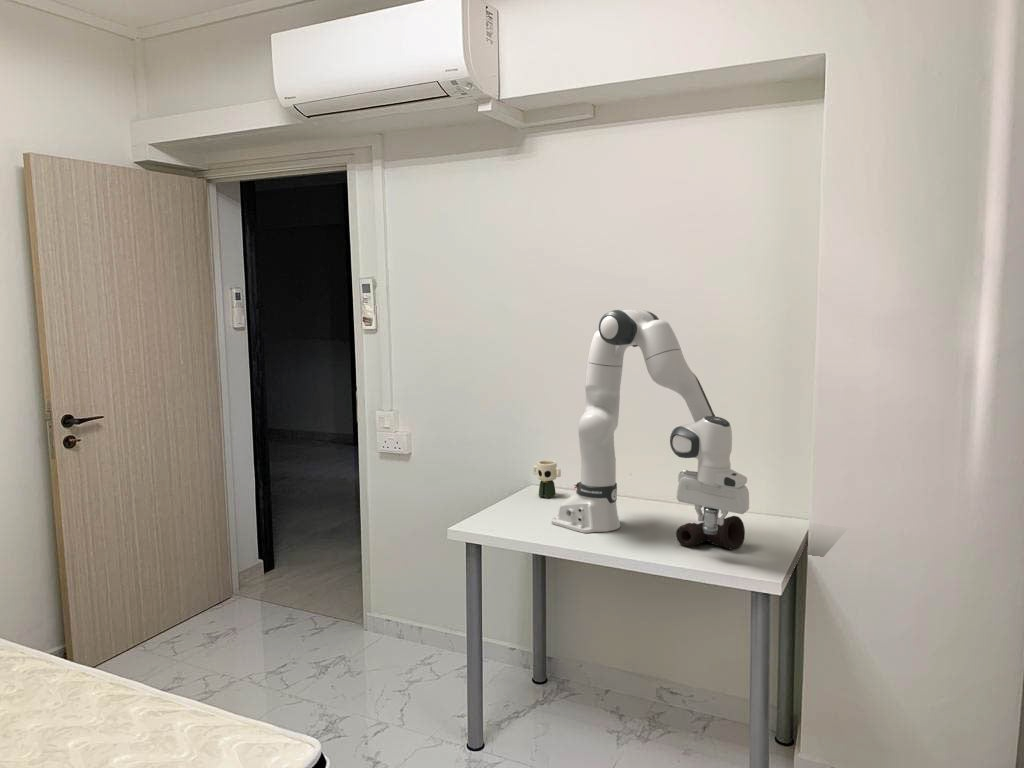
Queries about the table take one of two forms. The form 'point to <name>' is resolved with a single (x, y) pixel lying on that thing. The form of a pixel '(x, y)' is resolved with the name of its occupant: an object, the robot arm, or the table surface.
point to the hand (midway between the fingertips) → (710, 522)
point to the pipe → (726, 536)
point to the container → (710, 521)
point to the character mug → (547, 477)
